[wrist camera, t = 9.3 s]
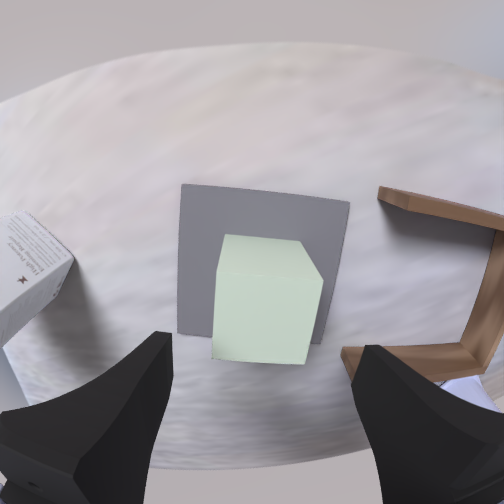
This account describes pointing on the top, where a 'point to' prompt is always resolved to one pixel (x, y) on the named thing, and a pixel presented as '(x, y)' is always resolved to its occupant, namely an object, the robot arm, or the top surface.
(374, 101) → the top surface
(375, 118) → the top surface
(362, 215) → the top surface
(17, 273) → the skincare box
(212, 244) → the charcoal mat
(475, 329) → the walnut u-shaped frame
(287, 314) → the sage block
